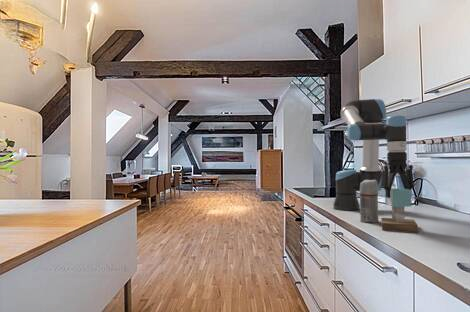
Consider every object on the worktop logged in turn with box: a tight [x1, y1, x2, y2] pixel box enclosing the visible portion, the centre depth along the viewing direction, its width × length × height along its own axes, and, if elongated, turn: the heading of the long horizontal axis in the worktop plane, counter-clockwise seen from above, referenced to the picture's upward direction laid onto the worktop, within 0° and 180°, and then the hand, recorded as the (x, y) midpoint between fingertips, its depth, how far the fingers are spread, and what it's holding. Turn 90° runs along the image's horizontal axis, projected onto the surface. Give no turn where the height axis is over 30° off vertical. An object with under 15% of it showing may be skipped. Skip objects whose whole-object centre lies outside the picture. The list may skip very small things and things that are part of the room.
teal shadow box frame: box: [384, 187, 412, 208], centre depth 135 cm, size 7×7×7 cm
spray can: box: [359, 180, 379, 224], centre depth 150 cm, size 8×8×20 cm
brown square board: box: [380, 206, 419, 234], centre depth 135 cm, size 13×13×10 cm
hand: (398, 204), depth 135 cm, fingers closed on teal shadow box frame, 7 cm apart
